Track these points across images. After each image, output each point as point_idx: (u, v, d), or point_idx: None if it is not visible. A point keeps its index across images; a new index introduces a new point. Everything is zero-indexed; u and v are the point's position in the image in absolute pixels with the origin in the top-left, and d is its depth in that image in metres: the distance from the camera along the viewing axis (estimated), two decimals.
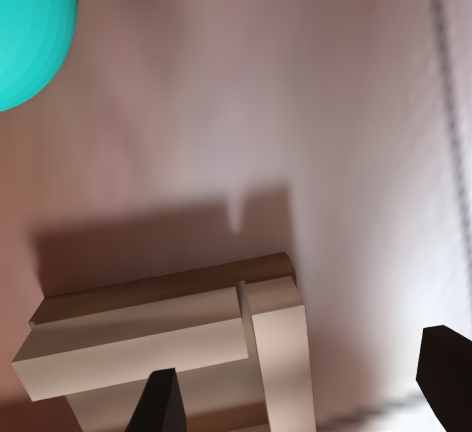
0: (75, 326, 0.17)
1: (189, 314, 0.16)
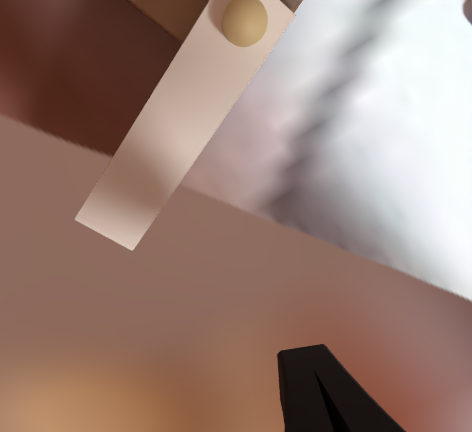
0: None
1: None
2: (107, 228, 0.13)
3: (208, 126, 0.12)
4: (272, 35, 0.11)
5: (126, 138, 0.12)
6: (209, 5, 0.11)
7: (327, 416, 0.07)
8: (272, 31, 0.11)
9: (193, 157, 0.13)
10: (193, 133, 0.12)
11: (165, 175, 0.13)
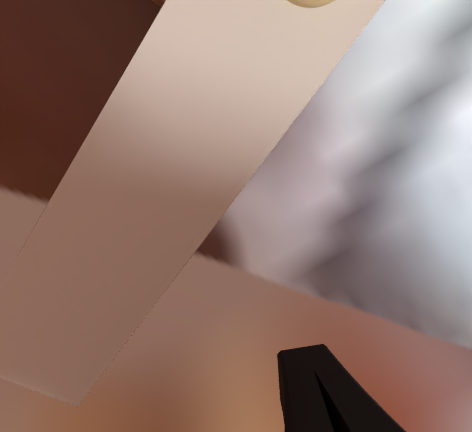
0: None
1: None
2: (25, 373, 0.07)
3: (225, 184, 0.06)
4: None
5: (47, 210, 0.06)
6: None
7: (327, 416, 0.07)
8: None
9: (193, 244, 0.06)
10: (193, 198, 0.06)
11: (137, 279, 0.06)
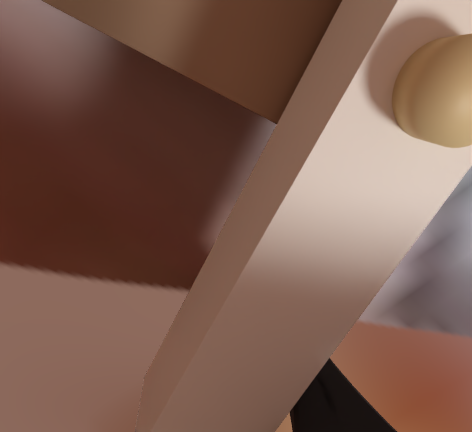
0: None
1: None
2: None
3: (360, 293, 0.06)
4: None
5: (205, 342, 0.06)
6: (365, 68, 0.05)
7: (336, 414, 0.07)
8: None
9: (332, 346, 0.07)
10: (331, 310, 0.06)
11: (282, 382, 0.07)
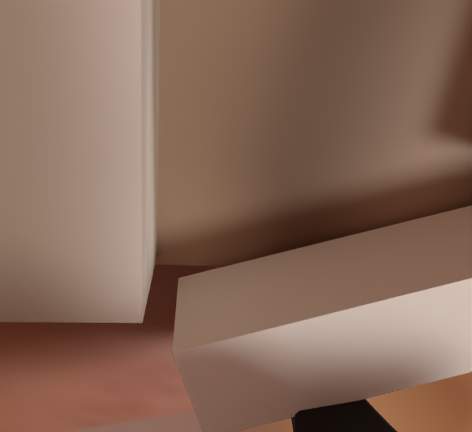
0: None
1: None
2: (206, 393, 0.07)
3: None
4: None
5: (374, 305, 0.06)
6: None
7: (337, 414, 0.07)
8: None
9: (416, 382, 0.07)
10: (449, 357, 0.07)
11: (360, 381, 0.07)
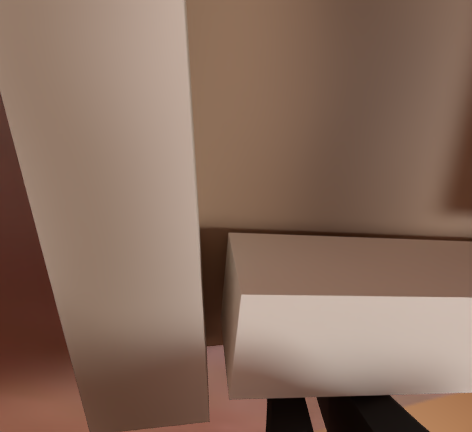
0: None
1: None
2: (253, 348, 0.06)
3: None
4: None
5: (443, 300, 0.06)
6: None
7: (308, 419, 0.07)
8: None
9: (442, 390, 0.07)
10: None
11: (396, 375, 0.07)
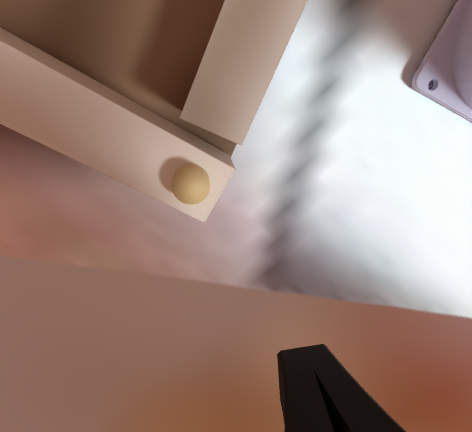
0: None
1: None
2: None
3: (95, 161, 0.12)
4: (186, 207, 0.13)
5: (60, 75, 0.11)
6: (199, 152, 0.13)
7: (327, 416, 0.07)
8: (189, 206, 0.13)
9: (59, 149, 0.12)
10: (84, 147, 0.12)
11: (29, 120, 0.12)
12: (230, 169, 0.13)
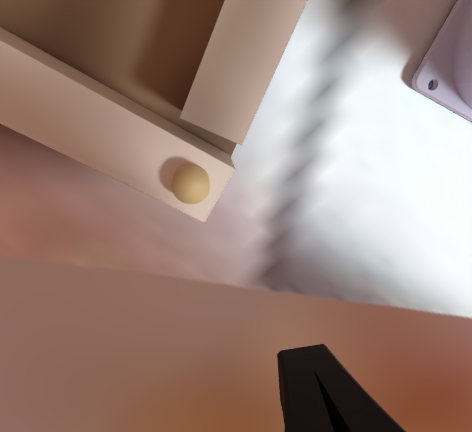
0: None
1: None
2: None
3: (95, 161, 0.12)
4: (186, 207, 0.13)
5: (60, 75, 0.11)
6: (199, 152, 0.13)
7: (327, 416, 0.07)
8: (189, 206, 0.13)
9: (59, 148, 0.12)
10: (84, 146, 0.12)
11: (29, 120, 0.12)
12: (230, 169, 0.13)
